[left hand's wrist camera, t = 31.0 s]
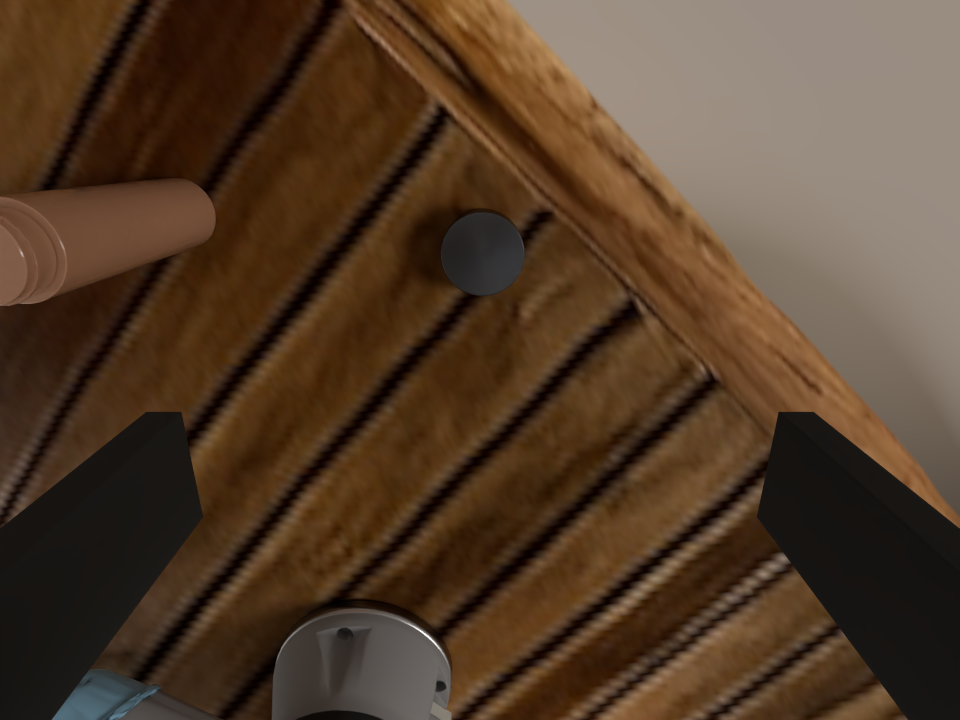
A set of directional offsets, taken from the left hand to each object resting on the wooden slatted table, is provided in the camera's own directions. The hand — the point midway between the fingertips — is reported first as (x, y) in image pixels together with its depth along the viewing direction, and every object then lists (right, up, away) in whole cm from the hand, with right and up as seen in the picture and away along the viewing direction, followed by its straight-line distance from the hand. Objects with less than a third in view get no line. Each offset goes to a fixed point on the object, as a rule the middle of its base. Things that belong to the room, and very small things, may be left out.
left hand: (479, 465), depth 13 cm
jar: (-19, +12, +24) cm, 33 cm away
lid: (0, +9, +23) cm, 25 cm away
